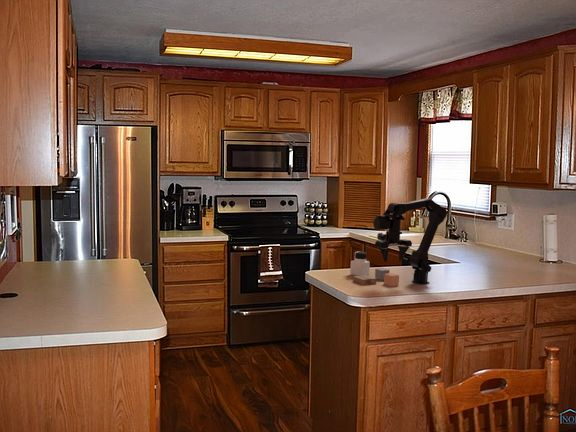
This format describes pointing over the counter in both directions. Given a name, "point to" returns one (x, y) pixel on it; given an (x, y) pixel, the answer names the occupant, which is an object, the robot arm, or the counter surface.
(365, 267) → the medicine bottle
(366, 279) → the walnut slab
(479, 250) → the counter surface
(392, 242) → the robot arm
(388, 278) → the terracotta cube
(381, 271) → the grey cube
